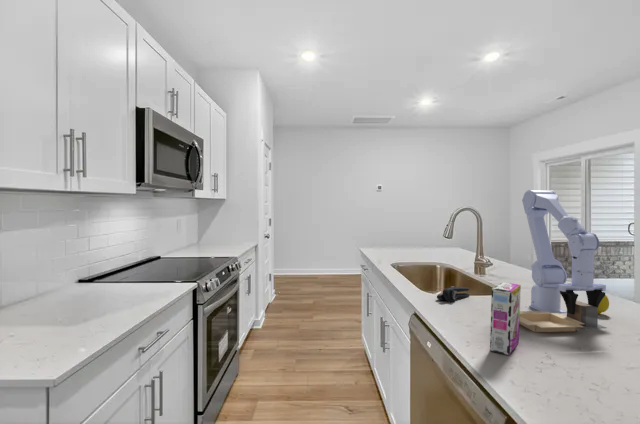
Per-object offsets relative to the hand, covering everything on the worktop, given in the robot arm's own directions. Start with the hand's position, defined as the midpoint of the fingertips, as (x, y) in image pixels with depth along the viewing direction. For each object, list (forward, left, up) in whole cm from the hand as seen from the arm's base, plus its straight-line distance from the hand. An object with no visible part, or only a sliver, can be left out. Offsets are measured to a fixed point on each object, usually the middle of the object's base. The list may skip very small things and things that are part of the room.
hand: (581, 313), depth 118 cm
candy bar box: (+17, -36, -4) cm, 40 cm away
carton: (+2, -14, -3) cm, 14 cm away
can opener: (-33, -26, -4) cm, 42 cm away
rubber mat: (0, 0, -3) cm, 3 cm away
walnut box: (0, 0, -3) cm, 3 cm away
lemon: (-10, +15, -4) cm, 18 cm away
